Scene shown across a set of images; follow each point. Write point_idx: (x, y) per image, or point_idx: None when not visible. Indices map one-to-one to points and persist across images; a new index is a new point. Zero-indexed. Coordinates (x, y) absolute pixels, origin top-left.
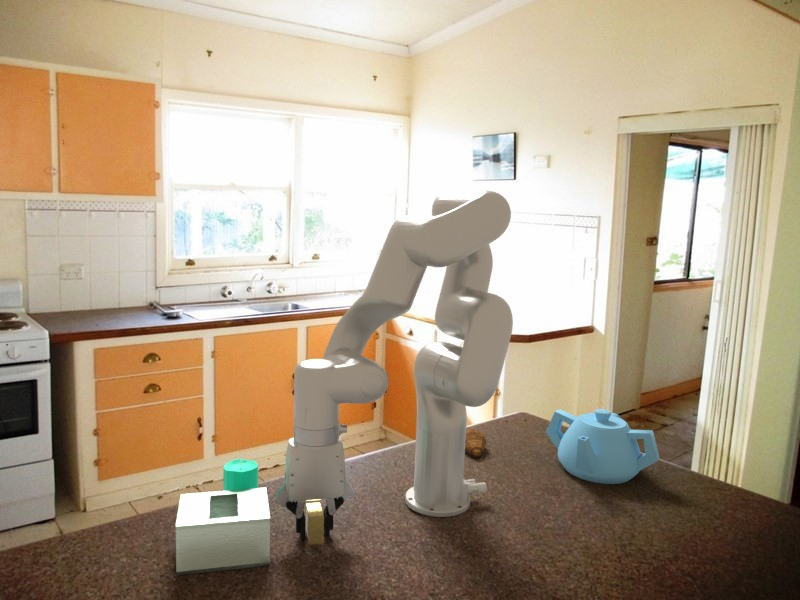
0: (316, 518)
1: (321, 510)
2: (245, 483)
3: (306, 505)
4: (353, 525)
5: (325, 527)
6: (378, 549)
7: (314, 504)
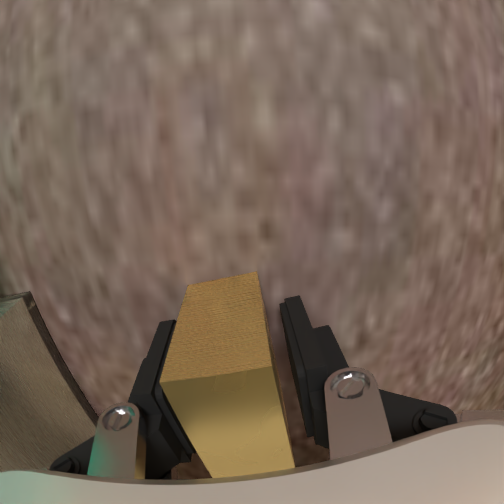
0: None
1: (285, 450)
2: None
3: (169, 398)
4: (419, 238)
5: (296, 388)
6: (449, 383)
7: (230, 395)
